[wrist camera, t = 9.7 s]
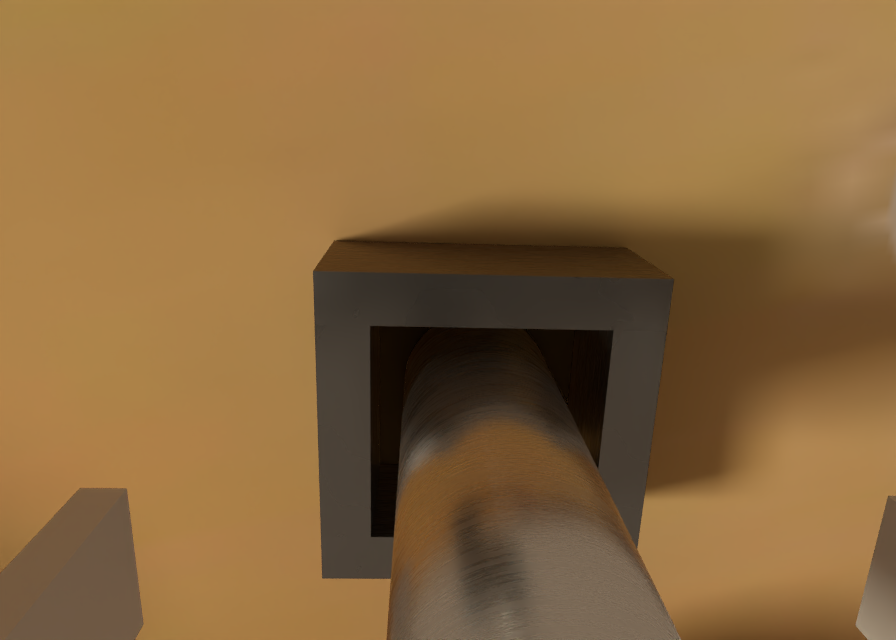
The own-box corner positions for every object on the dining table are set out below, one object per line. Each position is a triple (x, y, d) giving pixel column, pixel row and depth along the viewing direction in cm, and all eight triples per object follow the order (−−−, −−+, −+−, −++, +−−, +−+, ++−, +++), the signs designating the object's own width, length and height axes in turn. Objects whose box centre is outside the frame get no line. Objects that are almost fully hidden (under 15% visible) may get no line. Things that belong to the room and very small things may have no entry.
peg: (405, 310, 18) (367, 742, 6) (550, 314, 18) (819, 739, 6) (404, 442, 19) (369, 1036, 7) (540, 444, 19) (744, 1026, 7)
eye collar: (334, 240, 17) (313, 271, 14) (626, 247, 18) (673, 279, 14) (339, 499, 20) (322, 578, 16) (598, 501, 20) (633, 579, 17)
